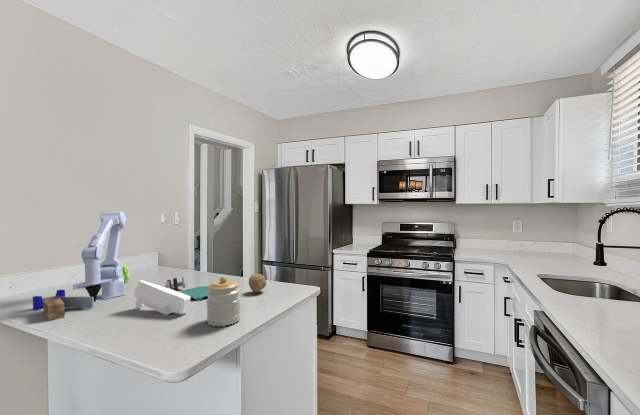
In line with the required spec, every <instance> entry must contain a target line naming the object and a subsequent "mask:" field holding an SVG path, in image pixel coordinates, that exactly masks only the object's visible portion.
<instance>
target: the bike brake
mask: <svg viewBox="0 0 640 415" xmlns="http://www.w3.org/2000/svg"><path fill="white" fill-rule="evenodd" d="M165 283H166V284H165V285H161V286H162V287H165V288H169V289H172V290H174V291H177V292H179V287H182V289H186V287H187V283H186V282H185V277H184V276H183V277H181V281H178V278H176V277H174V278H172V280H171V279H167V280H166V282H165Z"/></svg>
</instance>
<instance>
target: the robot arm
mask: <svg viewBox="0 0 640 415" xmlns="http://www.w3.org/2000/svg"><path fill="white" fill-rule="evenodd" d="M126 221H127V216H126V213H125V212H124V211H123V210H122V211H103V212H101V214H100V222H101V223H100V226H99V229H98V230H97V233H96V234H93V236H92V238H91V239H90V242H89V243H88V246H87V247H86V246H85V248H83V249H82V251H81V258H82V262H83V264H84V280H85V281H84V282H81V283H76V284H72V290H74V291H75V290H79V289H85V290H86V292H87V293H88V296H89V297H94V303H96V302H97V297H98V296H99V298H101V299H102V300H106V299H112V298H116V297H121V296H125V295H126V293H125V283H124V279H123V278H122V277H121V275H122V272H123V270H122V262H121V261H119V260H118V256H119V249H120V243H121V236H122V230H123V229H124V228H125V227H126ZM108 233H109V237H107V235H108ZM107 238H108V239H107ZM107 240H108V243H107V247H106V248H107V249H106V254H105V260H103V261H102V262H101V258H102V257H103V255H104V246H105V245H106V241H107ZM120 277H121V278H120ZM100 291H101V294H100V295H98V294H99V292H100Z"/></svg>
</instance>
